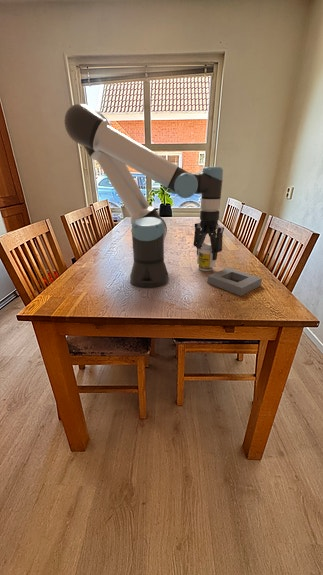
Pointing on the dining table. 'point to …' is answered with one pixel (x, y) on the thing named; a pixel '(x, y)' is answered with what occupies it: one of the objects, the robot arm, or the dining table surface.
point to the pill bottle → (205, 257)
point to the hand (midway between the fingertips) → (205, 264)
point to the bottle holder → (240, 288)
